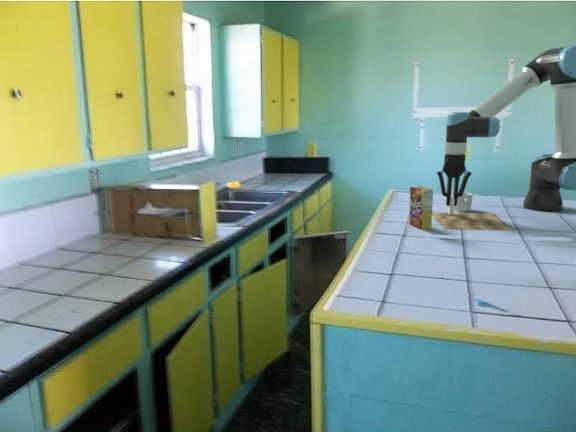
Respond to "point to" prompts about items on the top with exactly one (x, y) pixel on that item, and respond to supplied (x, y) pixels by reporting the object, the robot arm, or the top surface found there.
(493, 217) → the plank
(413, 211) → the candy box
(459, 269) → the top surface
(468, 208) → the cup
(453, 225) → the laid panel
